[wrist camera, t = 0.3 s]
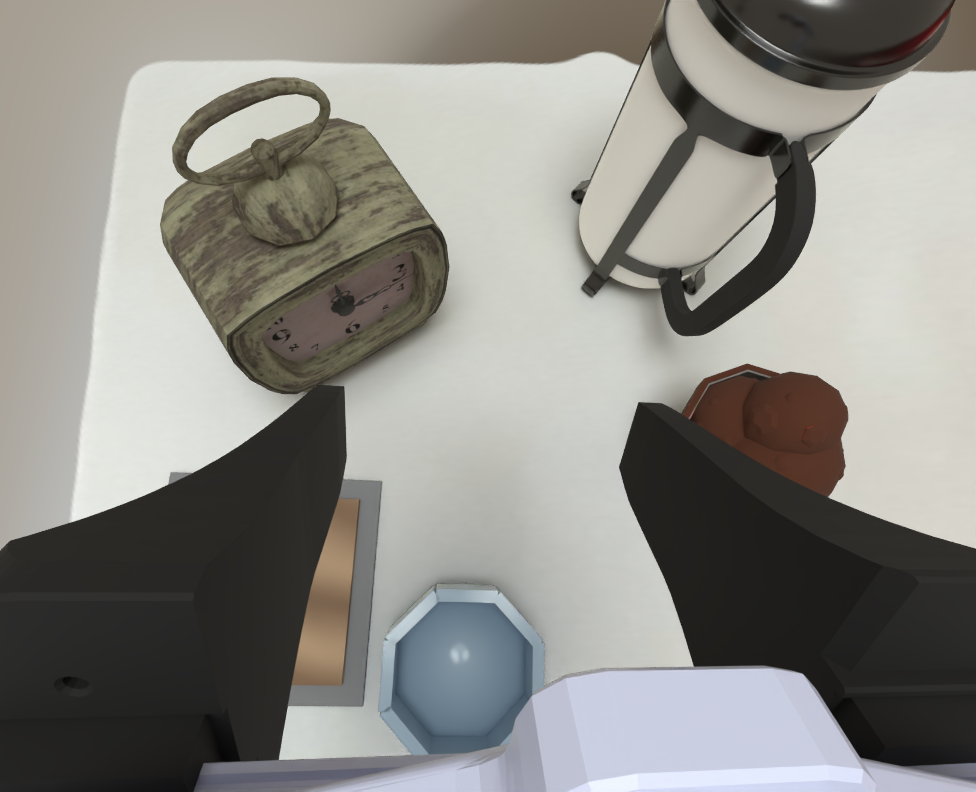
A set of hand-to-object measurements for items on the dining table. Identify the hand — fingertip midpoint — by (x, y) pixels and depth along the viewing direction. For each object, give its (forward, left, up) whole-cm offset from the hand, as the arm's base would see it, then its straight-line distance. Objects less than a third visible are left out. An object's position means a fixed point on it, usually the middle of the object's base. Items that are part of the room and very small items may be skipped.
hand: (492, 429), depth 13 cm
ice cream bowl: (+4, -20, -30) cm, 36 cm away
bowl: (-12, -1, -30) cm, 32 cm away
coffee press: (+23, -16, -30) cm, 41 cm away
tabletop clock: (+14, +10, -30) cm, 34 cm away
